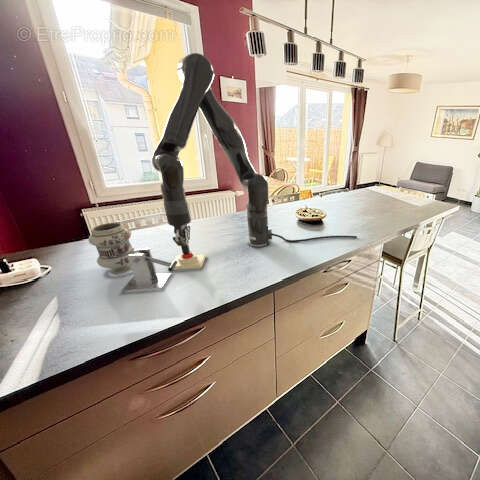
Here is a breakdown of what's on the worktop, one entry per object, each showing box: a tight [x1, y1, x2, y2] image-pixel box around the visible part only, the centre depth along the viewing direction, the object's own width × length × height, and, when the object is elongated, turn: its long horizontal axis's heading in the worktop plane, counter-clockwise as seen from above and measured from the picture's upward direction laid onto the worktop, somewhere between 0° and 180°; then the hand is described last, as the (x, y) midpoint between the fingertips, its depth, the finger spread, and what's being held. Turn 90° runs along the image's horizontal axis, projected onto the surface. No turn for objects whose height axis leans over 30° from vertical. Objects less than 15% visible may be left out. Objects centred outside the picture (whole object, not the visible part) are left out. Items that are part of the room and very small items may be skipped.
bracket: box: [121, 247, 172, 292], centre depth 82 cm, size 12×9×13 cm
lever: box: [135, 251, 178, 272], centre depth 82 cm, size 12×5×2 cm, turn 102°
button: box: [181, 250, 193, 259], centre depth 96 cm, size 4×4×2 cm
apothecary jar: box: [88, 222, 135, 274], centre depth 88 cm, size 12×12×18 cm
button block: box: [173, 251, 207, 270], centre depth 97 cm, size 11×9×4 cm
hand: (186, 252), depth 95 cm, fingers closed
